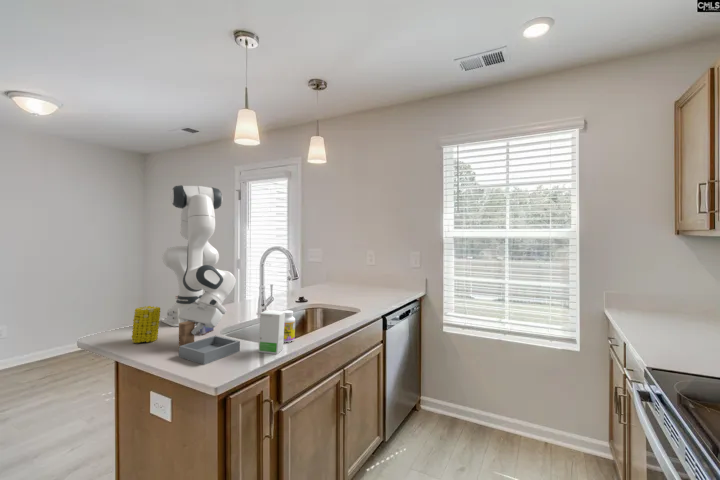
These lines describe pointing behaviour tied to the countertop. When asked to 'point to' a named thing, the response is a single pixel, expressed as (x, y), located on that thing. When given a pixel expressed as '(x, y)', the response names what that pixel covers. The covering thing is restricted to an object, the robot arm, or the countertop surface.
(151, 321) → the food
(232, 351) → the bin
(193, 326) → the block
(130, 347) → the countertop surface
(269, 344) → the skincare box
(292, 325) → the supplement bottle
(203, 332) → the flask
